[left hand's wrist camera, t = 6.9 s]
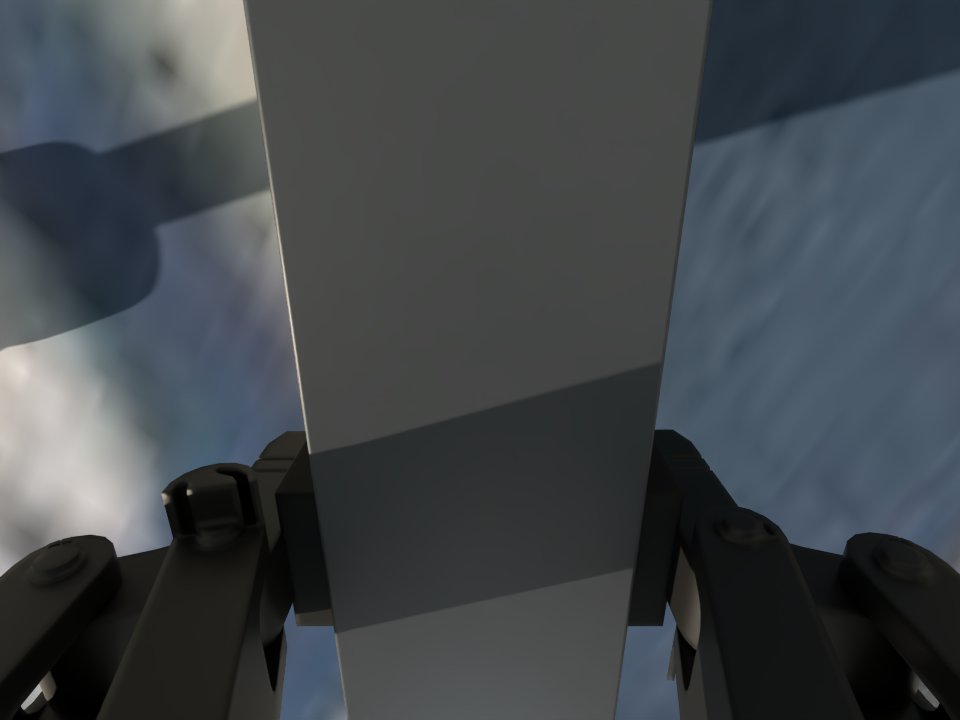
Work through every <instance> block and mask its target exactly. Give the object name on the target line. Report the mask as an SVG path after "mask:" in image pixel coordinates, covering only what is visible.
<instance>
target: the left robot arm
mask: <svg viewBox="0 0 960 720" xmlns="http://www.w3.org/2000/svg"><path fill="white" fill-rule="evenodd" d="M162 497H163V501H164V504H165V508H166V512H167V516H168V520H169V524H170V527H171V531H172V535H173V540H172V543H171V545H170V546H167V547H163V548H160V549H156V550H151V551H146V552H141V553H137V554H132V555H127V556H123V557H118V558H117V555H116V552H115V549H114V545H113V543H112V542H111V541H109V540H108V539H107V538H106V537H102V536H96V535H84V536H76V537H70V538H66V539H62V540H58V541H56V542H53V543H50V544H48V545H47V546H45V547H42V548H40V549H38V550H36V551H34V552H32V553H30V554H29V555H27V556H26V557H25V558H23V559H22V560H20V561H19V562H18V563H16V564H15V565H13V566H12V567H11V568H10V569H9V570H8V571H7V572H6V573H4V574H3V575H2V576H1V577H0V720H280V711H281V702H282V692H283V682H284V673H285V663H286V653H287V642H286V636H285V630H284V622H285V620H286V617H287V615H288V613H289V610H290V608H291V605H292V603H293V606H294V612H295V618H296V624H297V626H334V625H333V618H332V611H331V604H330V597H329V590H328V583H327V576H326V569H325V562H324V556H323V549H322V542H321V535H320V528H319V521H318V514H317V507H316V500H315V493H314V486H313V480H312V473H311V466H310V459H309V452H308V445H307V438H306V431H287V432H285V433H284V434H282V435H281V436H279V437H278V438H276V439H275V440H273V441H272V442H270V443H269V444H268V445H267V446H266V448H265V449H264V451H263V452H262V453H261V455H260V456H259V457H258V460H256V462H255V463H254V464H253V466H252V467H251V468H250V467H249V466H247V465H243V464H238V463H218V464H213V465H208V466H204V467H200V468H198V469H195V470H192V471H190V472H187V473H185V474H183V475H182V476H180V477H178V478H177V479H175V480H174V481H172V482H171V483H170V484H169V485H168V486H167V487H166V488H165V489H164V491H163V492H162ZM667 601H668V604H669V606H670V609H671V611H672V613H673V616H674V618H675V621H676V623H677V625H676V630H675V636H674V641H673V647H672V652H671V658H670V663H669V669H668V675H667V680H672V681H674V678H675V672H676V681H677V691H678V700H679V710H680V720H960V574H959V573H958V572H957V571H955V570H954V569H953V568H952V567H951V566H950V565H949V564H948V563H946V562H945V561H943V560H942V559H941V558H939V557H938V556H936V555H935V554H934V553H932V552H931V551H929V550H927V549H925V548H923V547H921V546H919V545H917V544H915V543H913V542H911V541H909V540H906V539H903V538H898V537H896V536H892V535H888V534H880V533H871V532H868V533H862V534H855V535H854V536H853V537H852V538H850V539H849V540H848V541H847V544H846V547H845V550H844V553H843V555H839V554H834V553H829V552H824V551H820V550H815V549H810V548H805V547H801V546H797V545H794V544H790V543H789V542H788V539H787V537H786V536H785V534H784V533H783V532H782V530H781V529H780V528H779V526H777V525H776V524H775V523H773V522H772V521H771V520H769V519H768V518H767V517H765V516H763V515H761V514H758V513H756V512H754V511H752V510H750V509H746V508H742V507H738V506H737V504H736V503H735V501H734V500H733V499H732V497H731V496H730V495H729V493H728V492H727V490H726V489H725V488H724V486H723V485H722V484H721V482H720V481H719V479H718V478H717V477H716V475H715V474H714V473H713V471H712V470H710V467H709V466H708V464H707V463H706V462H705V460H704V459H702V458H701V455H700V453H699V452H698V450H697V449H696V448H695V446H694V445H693V444H692V442H691V441H689V440H688V439H686V438H685V437H683V436H682V435H680V434H679V433H677V432H676V431H674V430H655V431H654V438H653V445H652V453H651V460H650V467H649V474H648V482H647V489H646V496H645V504H644V511H643V518H642V525H641V533H640V540H639V547H638V554H637V562H636V569H635V576H634V584H633V591H632V598H631V605H630V613H629V620H628V626H663V621H664V615H665V609H666V603H667ZM921 681H922V682H923V683H924V684H925V686H926V687H927V688H928V689H929V690H930V692H931V693H932V694H933V695H934V696H935V698H936V699H937V700H938V701H939V702H940V704H939V706H938V707H937V708H935V707H934V706H933V705H932V704H931V703H930V702H929V701H928V700H927V699H926V698H925V697H924V696H923V694H922V693H921V692H920V691H919V689H918V688H919V685H920V683H921ZM38 684H39V685H40V687H41V689H42V692H41V693H40V694H39V696H38V697H37V698H36V699H35V701H34V702H33V703H32V704H31V705H29V706H28V707H27V708H26V709H25V710H23V709H22V708H21V705H22V703H23V702H24V701H25V700H26V699H27V697H28V696H29V695H30V694H31V693H32V691H33V690H34V689H35V688H36V686H37V685H38Z"/></svg>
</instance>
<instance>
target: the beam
mask: <svg viewBox="0 0 960 720" xmlns="http://www.w3.org/2000/svg"><path fill="white" fill-rule="evenodd" d="M713 2H714V0H243V3H244V10H245V17H246V24H247V31H248V38H249V45H250V52H251V58H252V65H253V72H254V79H255V86H256V93H257V100H258V107H259V114H260V121H261V127H262V134H263V141H264V148H265V155H266V162H267V169H268V176H269V183H270V190H271V197H272V203H273V210H274V217H275V224H276V231H277V238H278V245H279V252H280V259H281V266H282V272H283V279H284V286H285V293H286V300H287V307H288V314H289V321H290V328H291V335H292V342H293V348H294V355H295V362H296V369H297V376H298V383H299V390H300V397H301V404H302V411H303V417H304V424H305V431H306V438H307V445H308V452H309V459H310V466H311V473H312V480H313V486H314V493H315V500H316V507H317V514H318V521H319V528H320V535H321V542H322V549H323V556H324V562H325V569H326V576H327V583H328V590H329V597H330V604H331V611H332V618H333V625H334V631H335V638H336V645H337V652H338V659H339V666H340V673H341V680H342V687H343V694H344V701H345V707H346V714H347V720H615V714H616V707H617V700H618V693H619V685H620V678H621V671H622V664H623V656H624V649H625V642H626V634H627V627H628V620H629V613H630V605H631V598H632V591H633V584H634V576H635V569H636V562H637V554H638V547H639V540H640V533H641V525H642V518H643V511H644V504H645V496H646V489H647V482H648V474H649V467H650V460H651V453H652V445H653V438H654V431H655V423H656V416H657V409H658V402H659V394H660V387H661V380H662V373H663V365H664V358H665V351H666V343H667V336H668V329H669V322H670V314H671V307H672V300H673V293H674V285H675V278H676V271H677V263H678V256H679V249H680V242H681V234H682V227H683V220H684V213H685V205H686V198H687V191H688V183H689V176H690V169H691V162H692V154H693V147H694V140H695V133H696V125H697V118H698V111H699V103H700V96H701V89H702V82H703V74H704V67H705V60H706V53H707V45H708V38H709V31H710V23H711V16H712V9H713Z"/></svg>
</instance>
